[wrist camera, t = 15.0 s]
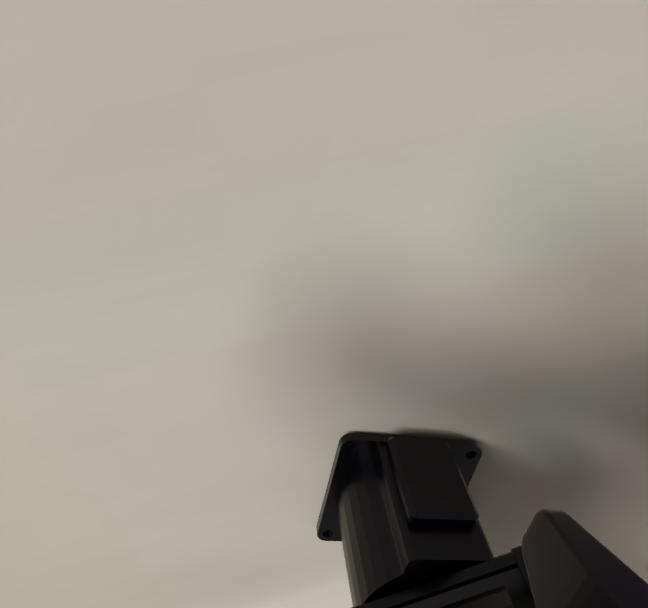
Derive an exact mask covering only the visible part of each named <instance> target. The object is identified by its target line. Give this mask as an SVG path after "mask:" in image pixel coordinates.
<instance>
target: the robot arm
mask: <svg viewBox="0 0 648 608" xmlns="http://www.w3.org/2000/svg"><path fill="white" fill-rule="evenodd" d="M350 444H355V445H353V446H348V445H350ZM469 451H471V452H469ZM467 452H468V453H467ZM481 453H482V452H481V449H480V447H479V445H478V443H477V442H475V441H472V440H456V439H439V438H423V437H406V436H389V435H373V434H356V433H351V434H346V435H344V436H343V437H342V438H341V439H340V441H339V444H338V448H337V452H336V455H335V459H334V463H333V467H332V470H331V474H330V478H329V482H328V485H327V489H326V493H325V497H324V501H323V504H322V508H321V512H320V516H319V519H318V523H317V535H318V537H319V539H321V540H325V541H342V544H343V550H344V556H345V562H346V568H347V574H348V580H349V586H350V592H351V598H352V604H353V607H352V608H648V584H647V583H646V582H645V581H644V580H643V579H642V578H640V577H639V576H638V575H637V574H636V573H635V572H634V571H632V570H631V569H630V568H629V567H628V566H627V565H625V564H624V563H623V562H622V561H621V560H620V559H619V558H617V557H616V556H615V555H614V554H613V553H612V552H610V551H609V550H608V549H607V548H606V547H605V546H604V545H602V544H601V543H600V542H599V541H598V540H597V539H595V538H594V537H593V536H592V535H591V534H590V533H589V532H587V531H586V530H585V529H584V528H583V527H582V526H580V525H579V524H578V523H577V522H576V521H575V520H574V519H572V518H571V517H570V516H569V515H568V514H566V513H565V512H563V511H561V510H550V509H542V510H540V511H538V512H537V514H536V515H535V517H534V519H533V521H532V523H531V524H530V526H529V528H528V530H527V532H526V533H525V535H524V537H523V540H522V546H519V547H516V548H513V549H511V552H510V553H507V554H504V555H501V556H498V557H496V558H494V556H493V553H492V551H491V549H490V546H489V544H488V541H487V539H486V537H485V534H484V532H483V529H482V527H481V525H480V522H479V520H478V518H479V515H478V512H477V509H476V507H475V505H474V502H473V500H472V498H471V495H470V493H469V490H468V488H467V487H468V485H469V482H470V480H471V478H472V476H473V473H474V471H475V469H476V466H477V464H478V462H479V459H480V457H481Z"/></svg>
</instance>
